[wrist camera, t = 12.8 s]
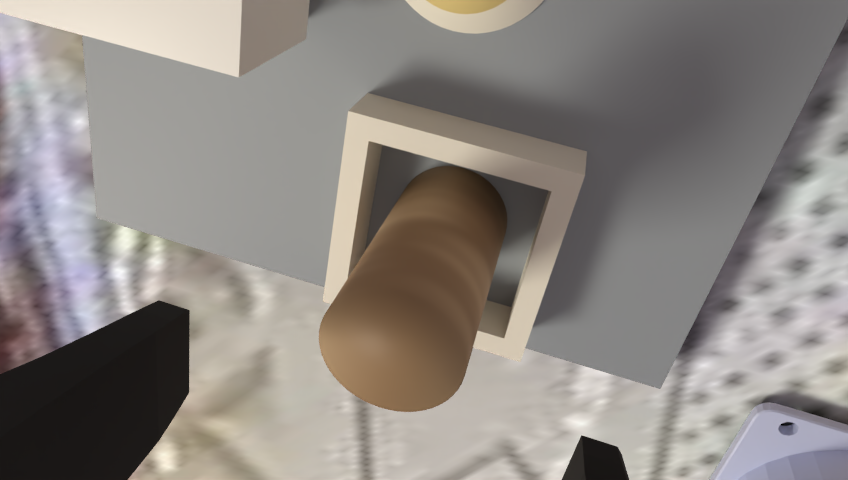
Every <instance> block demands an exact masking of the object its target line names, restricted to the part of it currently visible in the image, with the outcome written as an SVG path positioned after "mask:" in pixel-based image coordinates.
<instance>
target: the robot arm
mask: <svg viewBox="0 0 848 480" xmlns="http://www.w3.org/2000/svg"><path fill="white" fill-rule="evenodd" d="M188 393H189V310H187V309H184V308H181V307H178V306H174V305H171V304H168V303H165V302H162V301H157V302H155V303H152V304H150V305H148V306H146V307H144V308H142V309H139V310H137V311H135V312H133V313H131V314H129V315H127V316H125V317H123V318H121V319H119V320H117V321H115V322H113V323H111V324H109V325H107V326H105V327H103V328H101V329H99V330H97V331H95V332H93V333H91V334H88V335H86V336H84V337H82V338H80V339H78V340H76V341H74V342H72V343H70V344H67V345H65V346H63V347H61V348H59V349H57V350H55V351H53V352H51V353H48V354H46V355H44V356H42V357H40V358H37V359H35V360H33V361H30V362H28V363H26V364H23V365H21V366H19V367H16V368H14V369H12V370H9V371H7V372H5V373H2V374H0V480H128V478H129V477H130V476H131V475H132V473H133V472H134V471H135V470H136V468H137V467H138V466H139V465H140V464H141V462H142V461H143V460H144V459H145V457H146V456H147V455H148V454H149V452H150V451H151V450H152V449H153V447H154V446H155V445H156V444H157V442H158V441H159V440H160V438H161V437H162V435H163V433H164V432H165V430H166V429H167V427H168V426H169V424H170V423H171V421H172V420H173V418H174V416H175V415H176V413H177V411H178V410H179V408H180V407H181V405H182V403H183V402H184V400H185V398H186V397H187V395H188ZM785 422H793V424H792V425H789V426H781V424H782V423H785ZM562 480H629V477H628V474H627V471H626V468H625V464H624V461H623V458H622V454H621V452H620V451H619V449H618V447H616V446H613V445H610V444H607V443H604V442H601V441H597V440H594V439H591V438H588V437H585V436H582V435H581V438H580V440H579V442H578V444H577V447H576V449H575V451H574V454H573V456H572V458H571V460H570V463H569V465H568V467H567V469H566V472H565V474H564V476H563V478H562ZM709 480H848V425H847V424H843V423H840V422H837V421H833V420H830V419H827V418H823V417H820V416H817V415H813V414H810V413H807V412H803V411H800V410H797V409H793V408H790V407H787V406H783V405H780V404H777V403H770V402H768V403H762V404H759V405H757V406H755V407H754V408H753V409H752V411H751V412H750V414H749V416H748V417H747V419H746V420H745V422H744V424H743V425H742V427H741V428H740V430H739V432H738V433H737V435H736V437H735V438H734V440H733V441H732V443H731V445H730V446H729V448H728V450H727V451H726V453H725V454H724V456H723V458H722V459H721V461H720V462H719V464H718V466H717V467H716V469H715V471H714V472H713V474H712V475H711V477H710V479H709Z"/></svg>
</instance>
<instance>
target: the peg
mask: <svg viewBox="0 0 848 480" xmlns="http://www.w3.org/2000/svg"><path fill="white" fill-rule="evenodd" d="M506 229H507V212H506V208H505V205H504V202H503V200H502V198H501V196H500V194H499V193H498V191H497V190H496V189H495V187H494V186H493V185H492V184H491V183H490V182H489V181H487V180H486V179H485V178H484V177H482V176H481V175H479V174H477V173H475V172H473V171H471V170H468V169H465V168H461V167H455V166H441V167H435V168H432V169H428V170H426V171H424V172H422V173H420V174H419V175H417V176H416V177H415V178H414V179H412V180H411V182H410V183H409V184H408V185H407V187H406V188H405V190H404V191H403V193H402V194H401V196H400V198H399V199H398V201H397V202H396V204H395V205H394V207H393V208H392V210H391V212H390V213H389V215H388V216H387V218H386V219H385V221H384V223H383V224H382V226H381V227H380V229H379V230H378V232H377V233H376V235H375V237H374V238H373V240H372V241H371V243H370V244H369V246H368V248H367V249H366V251H365V252H364V254H363V255H362V257H361V259H360V260H359V262H358V263H357V265H356V266H355V268H354V269H353V271H352V273H351V274H350V276H349V277H348V279H347V280H346V282H345V284H344V285H343V287H342V288H341V290H340V291H339V293H338V294H337V296H336V298H335V299H334V301H333V302H332V304H331V305H330V307H329V309H328V310H327V312H326V313H325V315H324V317H323V319H322V322H321V325H320V330H319V344H320V349H321V353H322V356H323V358H324V361H325V363H326V365H327V367H328V368H329V370H330V371H331V373H332V374H333V376H334V377H335V378H336V379H337V380H338V381H339V382H340V383H341V384H342V385H343V386H344V387H345V388H346V389H347V390H348V391H350V392H351V393H352V394H354V395H355V396H357V397H359V398H360V399H362V400H364V401H366V402H368V403H370V404H373V405H375V406H378V407H381V408H385V409H388V410H394V411H403V412H413V411H422V410H426V409H430V408H433V407H436V406H438V405H440V404H442V403H443V402H445V401H447V400H448V399H449V398H450V397H452V396H453V395H454V394H455V392H456V391H457V390H458V389H459V387H460V385H461V384H462V381H463V379H464V376H465V373H466V369H467V366H468V363H469V359H470V356H471V352H472V349H473V345H474V342H475V338H476V335H477V331H478V328H479V324H480V321H481V317H482V314H483V310H484V307H485V303H486V300H487V296H488V293H489V289H490V286H491V282H492V279H493V275H494V272H495V268H496V265H497V261H498V258H499V254H500V251H501V247H502V244H503V240H504V237H505V233H506Z"/></svg>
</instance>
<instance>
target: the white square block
mask: <svg viewBox="0 0 848 480" xmlns="http://www.w3.org/2000/svg"><path fill="white" fill-rule="evenodd" d="M309 2H310V0H0V13H3V14H6V15H10V16H14V17H17V18H21V19H25V20H28V21H32V22H36V23H40V24H43V25H47V26H51V27H54V28H58V29H62V30H65V31H69V32H73V33H76V34H80V35H84V36H88V37H91V38H95V39H99V40H102V41H106V42H110V43H113V44H117V45H121V46H124V47H128V48H132V49H136V50H139V51H143V52H147V53H150V54H154V55H158V56H161V57H165V58H169V59H172V60H176V61H180V62H183V63H187V64H191V65H195V66H198V67H202V68H206V69H209V70H213V71H217V72H220V73H224V74H228V75H231V76H235V77H240V76H242V75H244V74H246V73H248V72H249V71H251V70H253V69H255V68H256V67H258V66H260V65H262V64H263V63H265V62H267V61H269V60H270V59H272V58H274V57H276V56H277V55H279V54H281V53H283V52H284V51H286V50H288V49H290V48H292V47H293V46H295V45H297V44H299V43H300V42H302V41H304V40H306V34H307V24H308V13H309Z"/></svg>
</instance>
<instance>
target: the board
mask: <svg viewBox="0 0 848 480" xmlns="http://www.w3.org/2000/svg"><path fill="white" fill-rule="evenodd" d="M847 19H848V0H310V2H309V13H308V24H307V34H306V40H304V41H302V42H300V43H299V44H297V45H295V46H293V47H292V48H290V49H288V50H286V51H284V52H283V53H281V54H279V55H277V56H276V57H274V58H272V59H270V60H269V61H267V62H265V63H263V64H262V65H260V66H258V67H256V68H255V69H253V70H251V71H249V72H248V73H246V74H244V75H242V76H240V77H235V76H231V75H228V74H224V73H220V72H217V71H213V70H209V69H206V68H202V67H198V66H195V65H191V64H187V63H183V62H180V61H176V60H172V59H169V58H165V57H161V56H158V55H154V54H150V53H147V52H143V51H139V50H136V49H132V48H128V47H124V46H121V45H117V44H113V43H110V42H106V41H102V40H99V39H95V38H91V37H88V36H84V35H82V40H83V52H84V65H85V77H86V90H87V102H88V115H89V127H90V139H91V152H92V164H93V177H94V189H95V202H96V214H97V218H99V219H102V220H105V221H108V222H112V223H115V224H118V225H122V226H125V227H128V228H131V229H135V230H138V231H141V232H145V233H148V234H151V235H155V236H158V237H161V238H164V239H168V240H171V241H174V242H178V243H181V244H184V245H188V246H191V247H194V248H197V249H201V250H204V251H207V252H211V253H214V254H217V255H220V256H224V257H227V258H230V259H234V260H237V261H240V262H244V263H247V264H250V265H253V266H257V267H260V268H263V269H267V270H270V271H273V272H277V273H280V274H283V275H286V276H290V277H293V278H296V279H300V280H303V281H306V282H309V283H313V284H316V285H319V286H323V287H325V288H324V296H323V302H326V303H329V304H332V302H333V301H334V299H335V298H336V296H337V294H338V293H339V291H340V290H341V288H342V287H343V285H344V284H345V282H346V280H347V279H348V277H349V276H350V274H351V273H352V271H353V269H354V268H355V266H356V265H357V263H358V262H359V260H360V259H361V257H362V255H363V254H364V252H365V251H366V249H367V248H368V246H369V244H370V243H371V241H372V240H373V238H374V237H375V235H376V233H377V232H378V230H379V229H380V227H381V226H382V224H383V223H384V221H385V219H386V218H387V216H388V215H389V213H390V212H391V210H392V208H393V207H394V205H395V204H396V202H397V201H398V199H399V198H400V196H401V194H402V193H403V191H404V190H405V188H406V187H407V185H408V184H409V183H410V182H411V180H412V179H414V178H415V177H416V176H417V175H419V174H420V173H422V172H424V171H426V170H428V169H432V168H435V167H441V166H455V167H461V168H465V169H468V170H471V171H473V172H475V173H477V174H479V175H481V176H482V177H484V178H485V179H486V180H487V181H489V182H490V183H491V184H492V185H493V186H494V187H495V189H496V190H497V191H498V193H499V194H500V196H501V198H502V200H503V202H504V205H505V208H506V212H507V229H506V233H505V237H504V240H503V244H502V247H501V251H500V254H499V258H498V261H497V265H496V268H495V272H494V275H493V279H492V282H491V286H490V289H489V293H488V296H487V300H486V303H485V307H484V310H483V314H482V317H481V321H480V324H479V328H478V331H477V335H476V338H475V342H474V345H473V348H476V349H479V350H483V351H486V352H489V353H492V354H496V355H499V356H502V357H506V358H509V359H512V360H515V361H519V362H521V359H522V356H523V353H524V350H525V348H527V349H530V350H534V351H537V352H540V353H544V354H547V355H550V356H553V357H557V358H560V359H563V360H567V361H570V362H573V363H577V364H580V365H583V366H586V367H590V368H593V369H596V370H600V371H603V372H606V373H609V374H613V375H616V376H619V377H623V378H626V379H629V380H633V381H636V382H639V383H642V384H646V385H649V386H652V387H656V388H659V389H660V388H661V386H662V384H663V383H664V381H665V379H666V377H667V375H668V373H669V371H670V369H671V367H672V365H673V363H674V361H675V359H676V357H677V355H678V353H679V351H680V349H681V347H682V345H683V343H684V341H685V339H686V337H687V335H688V333H689V331H690V329H691V327H692V325H693V323H694V321H695V319H696V317H697V315H698V313H699V311H700V309H701V307H702V305H703V304H704V302H705V300H706V298H707V296H708V294H709V292H710V290H711V288H712V286H713V284H714V282H715V280H716V278H717V276H718V274H719V272H720V270H721V268H722V266H723V264H724V262H725V260H726V258H727V256H728V254H729V252H730V250H731V248H732V246H733V244H734V242H735V240H736V238H737V236H738V234H739V232H740V230H741V228H742V226H743V224H744V223H745V221H746V219H747V217H748V215H749V213H750V211H751V209H752V207H753V205H754V203H755V201H756V199H757V197H758V195H759V193H760V191H761V189H762V187H763V185H764V183H765V181H766V179H767V177H768V175H769V173H770V171H771V169H772V167H773V165H774V163H775V161H776V159H777V157H778V155H779V153H780V151H781V149H782V147H783V145H784V144H785V142H786V140H787V138H788V136H789V134H790V132H791V130H792V128H793V126H794V124H795V122H796V120H797V118H798V116H799V114H800V112H801V110H802V108H803V106H804V104H805V102H806V100H807V98H808V96H809V94H810V92H811V90H812V88H813V86H814V84H815V82H816V80H817V78H818V76H819V74H820V72H821V70H822V68H823V66H824V64H825V63H826V61H827V59H828V57H829V55H830V53H831V51H832V49H833V47H834V45H835V43H836V41H837V39H838V37H839V35H840V33H841V31H842V29H843V27H844V25H845V23H846V21H847Z"/></svg>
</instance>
